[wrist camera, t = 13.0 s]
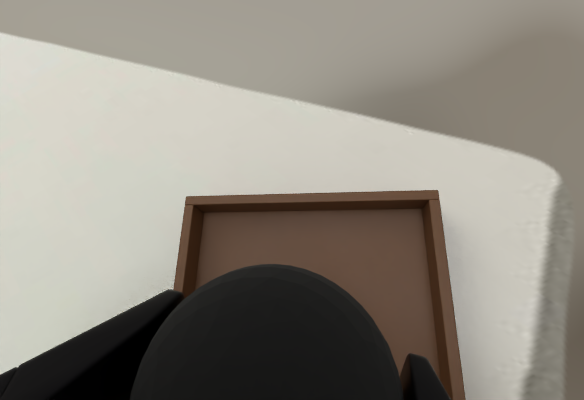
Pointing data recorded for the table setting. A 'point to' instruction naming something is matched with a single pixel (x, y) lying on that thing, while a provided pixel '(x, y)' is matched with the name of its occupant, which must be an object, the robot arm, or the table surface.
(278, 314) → the light bulb
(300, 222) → the tray
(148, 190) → the table surface
